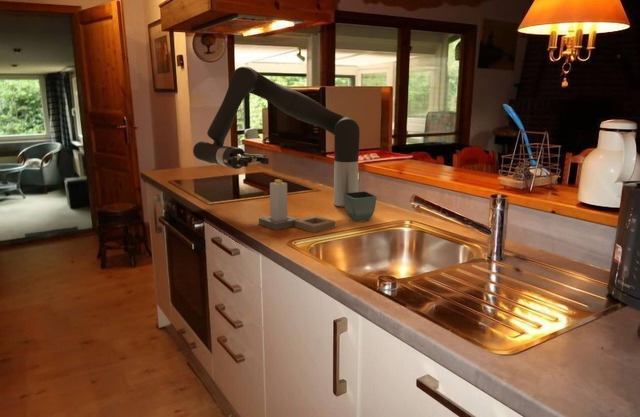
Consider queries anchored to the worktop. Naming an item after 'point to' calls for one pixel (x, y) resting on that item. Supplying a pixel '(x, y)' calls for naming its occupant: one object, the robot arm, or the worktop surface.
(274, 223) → the socket
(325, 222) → the socket
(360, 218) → the flower pot
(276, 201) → the plug
